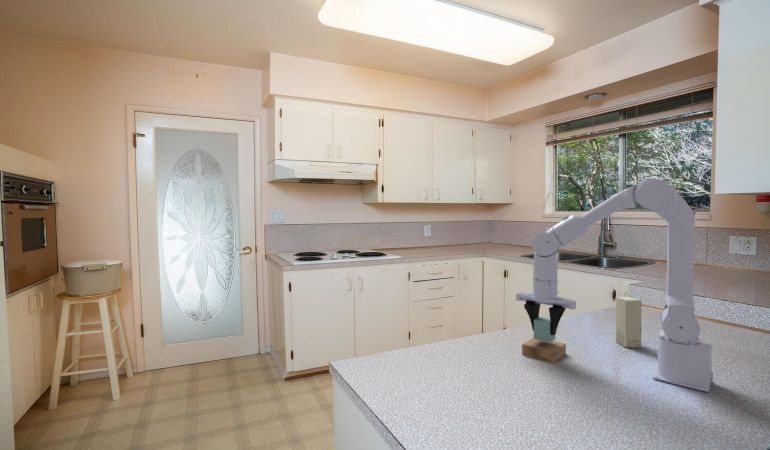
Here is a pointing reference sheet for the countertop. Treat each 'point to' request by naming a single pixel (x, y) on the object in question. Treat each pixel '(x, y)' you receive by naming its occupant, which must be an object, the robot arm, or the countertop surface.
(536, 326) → the teal block
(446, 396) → the countertop surface
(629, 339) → the box
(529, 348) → the tan wooden block
